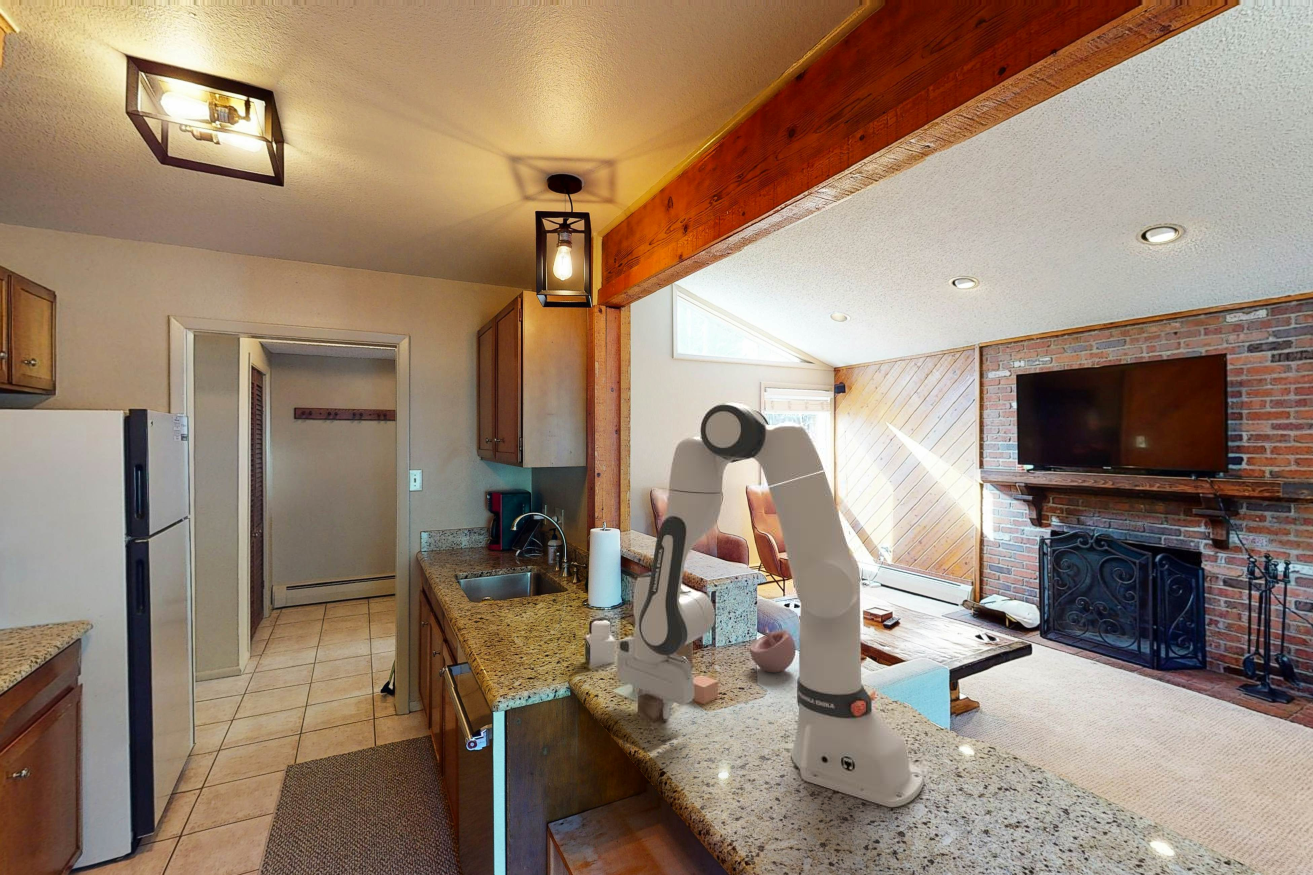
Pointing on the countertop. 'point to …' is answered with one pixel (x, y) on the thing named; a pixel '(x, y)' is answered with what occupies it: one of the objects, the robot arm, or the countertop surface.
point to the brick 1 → (650, 706)
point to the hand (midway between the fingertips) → (654, 712)
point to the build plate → (627, 692)
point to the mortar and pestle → (773, 650)
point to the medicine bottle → (599, 644)
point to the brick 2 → (705, 689)
